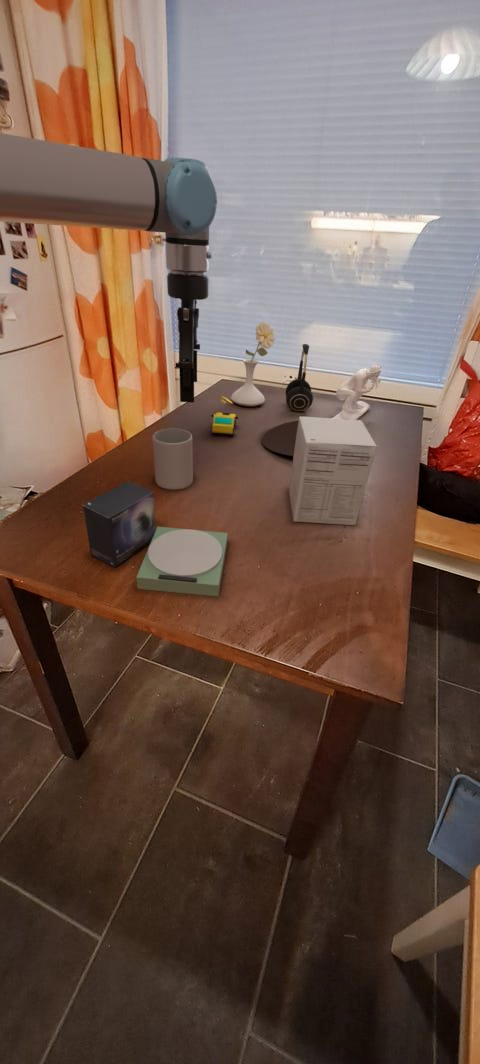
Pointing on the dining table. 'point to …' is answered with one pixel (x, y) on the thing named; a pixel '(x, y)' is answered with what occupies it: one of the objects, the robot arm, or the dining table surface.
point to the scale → (184, 562)
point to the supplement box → (330, 470)
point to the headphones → (300, 388)
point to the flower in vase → (248, 391)
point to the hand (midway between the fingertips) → (189, 391)
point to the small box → (120, 522)
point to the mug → (173, 458)
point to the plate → (281, 438)
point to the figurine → (356, 393)
